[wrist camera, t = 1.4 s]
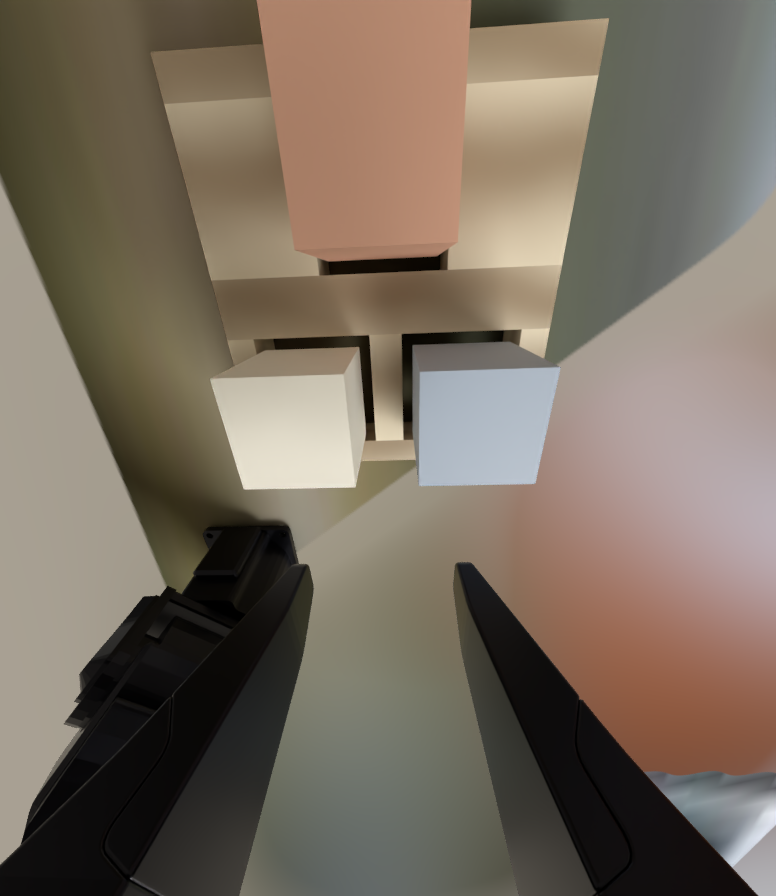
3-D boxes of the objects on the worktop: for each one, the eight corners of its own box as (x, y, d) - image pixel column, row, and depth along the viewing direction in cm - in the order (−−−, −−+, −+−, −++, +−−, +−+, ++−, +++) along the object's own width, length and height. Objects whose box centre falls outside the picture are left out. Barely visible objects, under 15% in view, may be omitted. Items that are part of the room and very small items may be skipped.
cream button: (366, 433, 17) (355, 487, 12) (283, 435, 17) (243, 489, 12) (359, 346, 15) (343, 374, 10) (265, 350, 15) (209, 378, 10)
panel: (510, 437, 20) (524, 457, 17) (274, 443, 20) (260, 463, 18) (570, 66, 12) (608, 18, 10) (192, 92, 13) (150, 51, 10)
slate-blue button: (497, 430, 16) (534, 483, 12) (412, 432, 17) (418, 485, 12) (509, 341, 14) (560, 367, 10) (412, 345, 15) (419, 371, 10)
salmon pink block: (436, 256, 13) (457, 242, 8) (328, 261, 13) (294, 250, 9) (441, 104, 11) (472, -21, 6) (312, 112, 11) (256, -3, 7)
